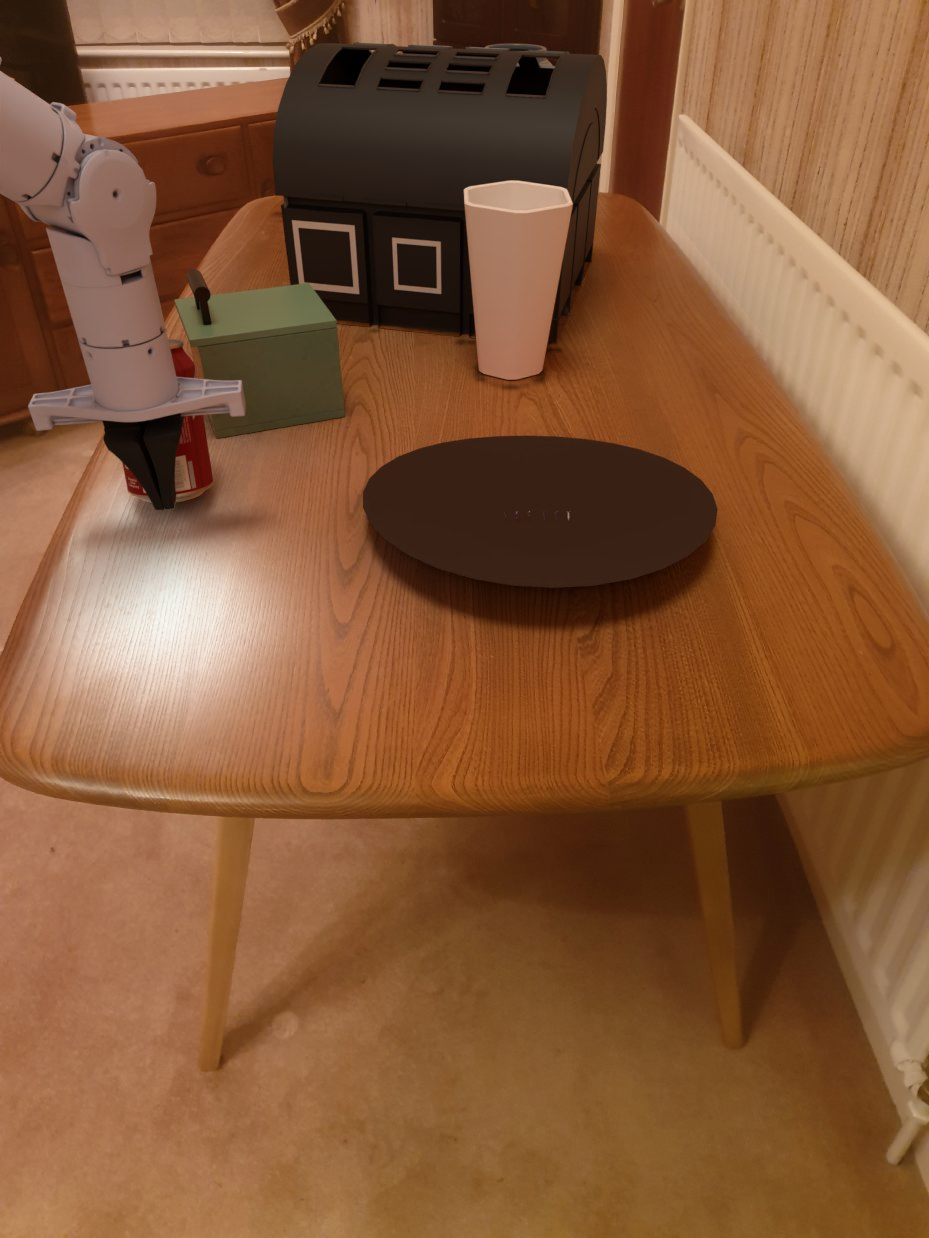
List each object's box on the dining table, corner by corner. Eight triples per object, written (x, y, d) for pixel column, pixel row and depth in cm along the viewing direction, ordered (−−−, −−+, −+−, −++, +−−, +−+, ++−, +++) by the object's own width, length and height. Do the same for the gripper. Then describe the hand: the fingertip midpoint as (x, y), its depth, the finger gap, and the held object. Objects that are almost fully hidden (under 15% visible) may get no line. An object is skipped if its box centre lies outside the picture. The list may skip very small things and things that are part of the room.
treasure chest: (554, 347, 97) (575, 78, 81) (290, 319, 103) (258, 63, 86) (592, 259, 121) (614, 37, 104) (375, 240, 127) (363, 27, 110)
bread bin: (216, 438, 80) (198, 347, 75) (199, 392, 88) (182, 306, 82) (345, 416, 84) (337, 328, 78) (318, 374, 91) (309, 290, 86)
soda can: (201, 506, 68) (175, 348, 63) (117, 508, 68) (84, 351, 63) (224, 482, 74) (202, 336, 69) (146, 484, 74) (118, 339, 69)
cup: (561, 388, 89) (577, 212, 78) (463, 388, 89) (465, 211, 78) (551, 345, 98) (564, 180, 87) (462, 345, 98) (463, 180, 87)
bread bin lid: (191, 347, 75) (181, 300, 72) (175, 306, 82) (166, 262, 79) (337, 327, 78) (333, 281, 76) (309, 290, 86) (305, 247, 83)
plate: (674, 436, 81) (681, 400, 79) (750, 630, 60) (762, 588, 58) (377, 435, 81) (375, 398, 79) (347, 628, 60) (342, 587, 57)
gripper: (233, 304, 63) (260, 469, 71) (22, 316, 61) (77, 483, 69) (229, 343, 57) (259, 515, 66) (-2, 357, 55) (61, 533, 64)
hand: (165, 502), depth 67 cm, fingers closed, pressing on soda can
